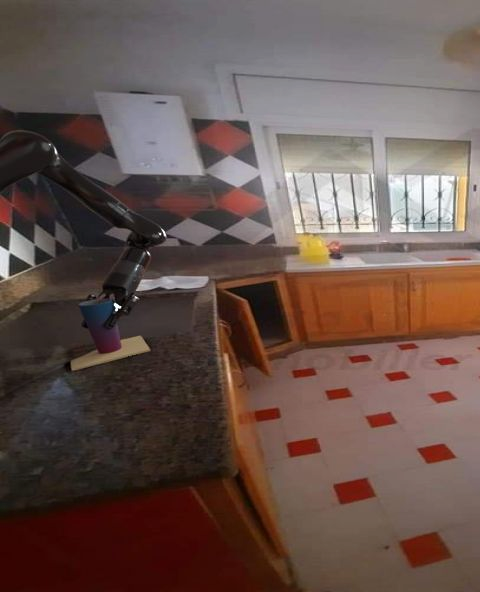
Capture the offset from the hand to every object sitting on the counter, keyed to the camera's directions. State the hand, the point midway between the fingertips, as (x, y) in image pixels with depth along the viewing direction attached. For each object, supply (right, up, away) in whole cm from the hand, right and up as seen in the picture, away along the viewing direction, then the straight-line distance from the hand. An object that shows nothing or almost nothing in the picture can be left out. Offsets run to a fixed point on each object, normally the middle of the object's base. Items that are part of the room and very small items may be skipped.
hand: (97, 327), depth 90 cm
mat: (0, -8, +4) cm, 9 cm away
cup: (0, -7, +4) cm, 8 cm away
